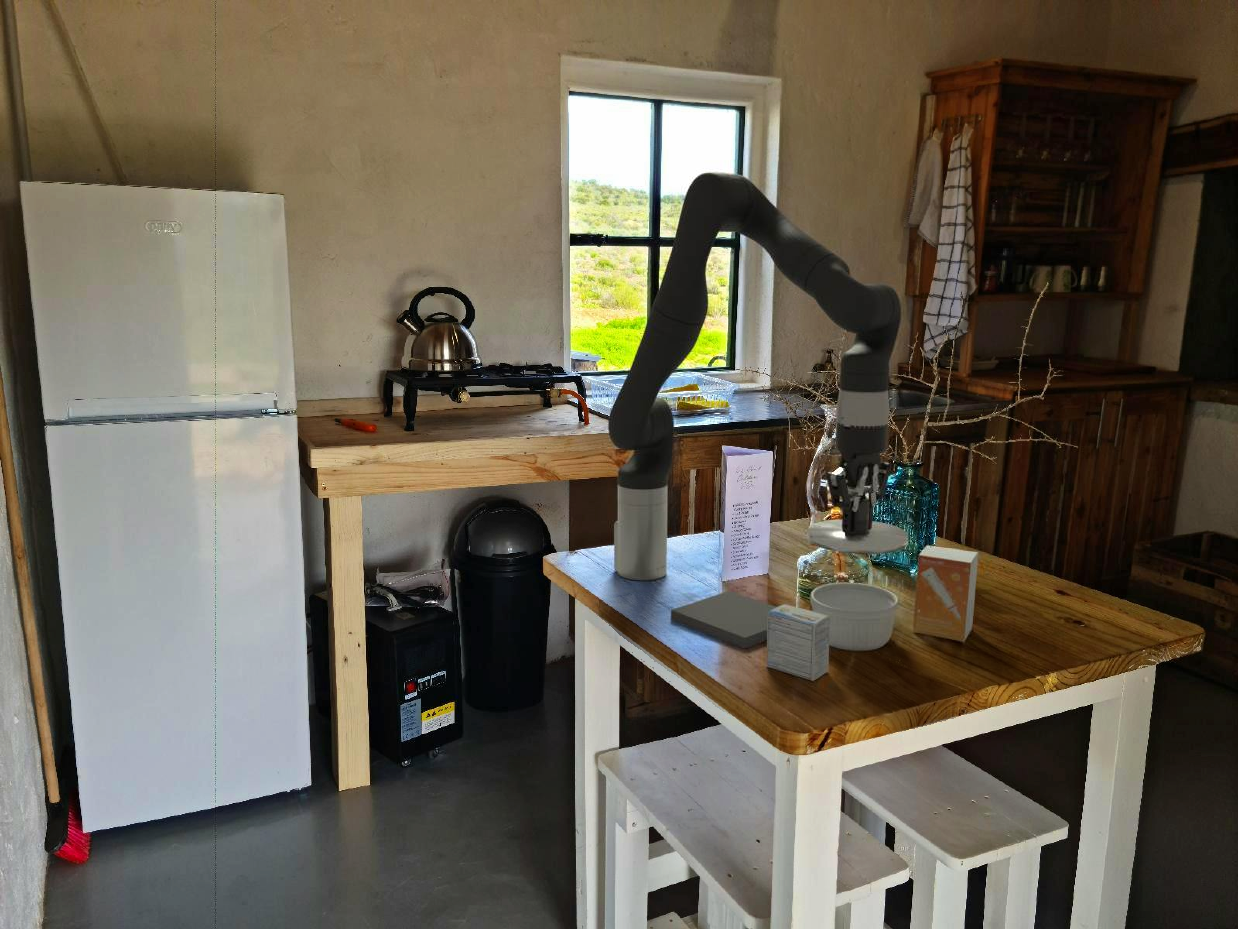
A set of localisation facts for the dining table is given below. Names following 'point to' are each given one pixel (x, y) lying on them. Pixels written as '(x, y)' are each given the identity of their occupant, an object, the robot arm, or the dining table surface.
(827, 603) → the ramekin
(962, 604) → the small box
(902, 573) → the dining table surface
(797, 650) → the medicine box
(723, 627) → the mat
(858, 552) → the lid
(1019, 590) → the dining table surface
